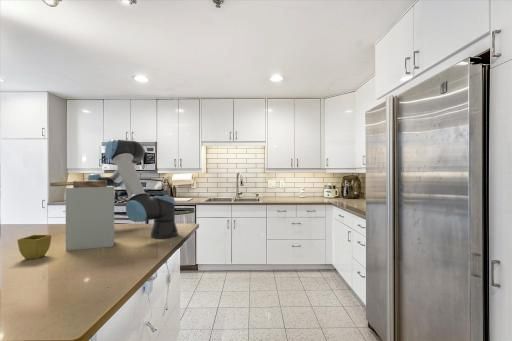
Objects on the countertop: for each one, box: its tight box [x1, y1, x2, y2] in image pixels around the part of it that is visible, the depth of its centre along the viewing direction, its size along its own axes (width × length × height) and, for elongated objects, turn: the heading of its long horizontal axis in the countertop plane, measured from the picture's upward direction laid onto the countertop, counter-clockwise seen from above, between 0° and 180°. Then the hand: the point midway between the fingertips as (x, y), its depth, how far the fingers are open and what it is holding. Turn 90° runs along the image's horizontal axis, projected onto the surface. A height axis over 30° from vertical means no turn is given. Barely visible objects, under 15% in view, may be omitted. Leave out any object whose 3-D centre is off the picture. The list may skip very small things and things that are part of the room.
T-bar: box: [72, 180, 107, 188], centre depth 150 cm, size 14×21×3 cm, turn 22°
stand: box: [65, 186, 115, 252], centre depth 143 cm, size 20×10×30 cm, turn 112°
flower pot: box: [16, 234, 52, 260], centre depth 125 cm, size 9×9×9 cm
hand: (101, 195), depth 164 cm, fingers open, 13 cm apart
